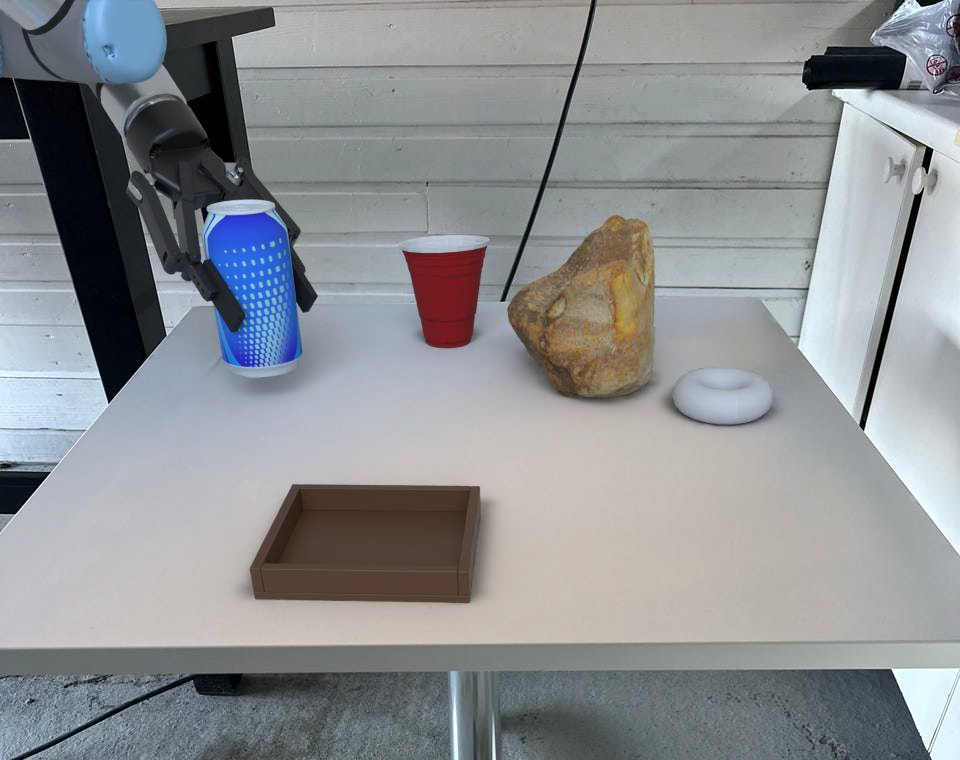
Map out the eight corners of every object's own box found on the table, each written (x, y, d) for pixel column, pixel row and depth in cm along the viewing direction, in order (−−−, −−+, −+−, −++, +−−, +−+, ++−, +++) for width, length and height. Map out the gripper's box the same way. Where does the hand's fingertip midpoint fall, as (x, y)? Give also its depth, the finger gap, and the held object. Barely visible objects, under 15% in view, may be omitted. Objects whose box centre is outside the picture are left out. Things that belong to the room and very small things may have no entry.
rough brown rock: (531, 341, 116) (521, 214, 108) (664, 337, 112) (665, 204, 103) (488, 415, 98) (472, 270, 90) (645, 414, 94) (644, 261, 85)
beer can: (295, 350, 104) (275, 195, 95) (311, 374, 97) (291, 209, 88) (219, 360, 101) (192, 201, 92) (230, 384, 95) (202, 216, 86)
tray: (254, 599, 67) (248, 568, 65) (296, 511, 78) (292, 483, 76) (469, 603, 66) (468, 571, 64) (480, 514, 77) (480, 485, 75)
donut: (730, 389, 100) (651, 402, 96) (735, 357, 98) (655, 369, 94) (790, 421, 92) (706, 436, 89) (797, 387, 90) (712, 401, 87)
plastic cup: (475, 323, 120) (473, 224, 113) (503, 348, 112) (502, 243, 105) (394, 333, 118) (387, 232, 111) (417, 358, 109) (410, 251, 102)
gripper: (232, 141, 103) (340, 313, 103) (52, 163, 90) (175, 359, 91) (254, 88, 97) (368, 271, 97) (64, 104, 84) (196, 314, 85)
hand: (275, 313), depth 94 cm, fingers closed on beer can, 8 cm apart
